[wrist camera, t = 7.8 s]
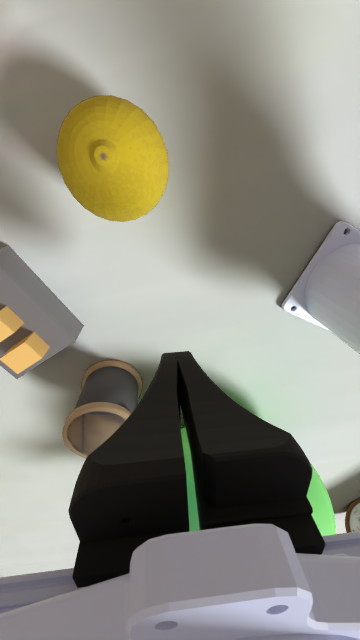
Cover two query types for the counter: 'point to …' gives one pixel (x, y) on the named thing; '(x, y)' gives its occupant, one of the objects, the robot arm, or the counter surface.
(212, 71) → the counter surface
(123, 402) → the cord spool
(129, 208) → the lemon
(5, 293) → the breaker strip
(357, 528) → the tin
